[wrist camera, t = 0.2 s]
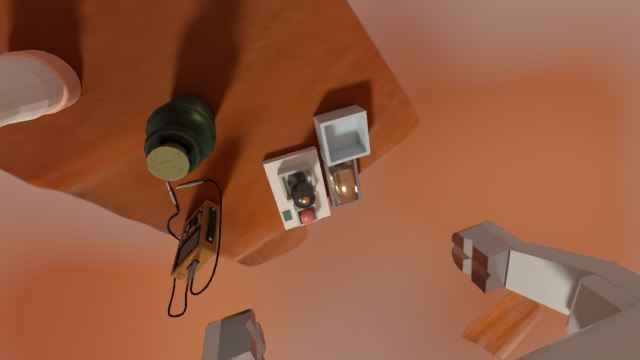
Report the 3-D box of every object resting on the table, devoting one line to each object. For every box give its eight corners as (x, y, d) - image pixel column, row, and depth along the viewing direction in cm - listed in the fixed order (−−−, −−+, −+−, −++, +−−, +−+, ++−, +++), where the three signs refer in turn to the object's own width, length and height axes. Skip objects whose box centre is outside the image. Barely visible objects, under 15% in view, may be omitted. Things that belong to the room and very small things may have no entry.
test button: (298, 209, 53) (300, 215, 51) (311, 205, 53) (313, 210, 52) (301, 220, 54) (303, 225, 53) (314, 216, 55) (316, 221, 53)
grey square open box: (312, 116, 47) (319, 124, 43) (355, 104, 48) (366, 110, 45) (321, 156, 52) (328, 166, 48) (360, 144, 53) (370, 153, 49)
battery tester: (262, 161, 49) (264, 169, 46) (314, 146, 50) (319, 153, 47) (284, 225, 57) (287, 236, 54) (328, 210, 59) (333, 220, 56)
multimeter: (183, 161, 45) (152, 240, 28) (232, 191, 50) (231, 273, 33) (132, 219, 47) (77, 323, 31) (185, 242, 53) (162, 342, 36)
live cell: (330, 167, 53) (336, 176, 49) (348, 162, 53) (355, 170, 50) (336, 197, 57) (342, 208, 53) (352, 192, 57) (359, 202, 54)
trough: (321, 160, 52) (324, 164, 50) (352, 151, 53) (355, 154, 51) (330, 204, 58) (333, 209, 56) (358, 195, 59) (361, 200, 57)
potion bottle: (177, 145, 43) (146, 207, 28) (152, 95, 39) (101, 137, 24) (227, 132, 45) (223, 186, 30) (208, 83, 40) (193, 115, 25)
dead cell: (284, 174, 50) (291, 195, 43) (303, 168, 50) (314, 188, 44) (289, 190, 52) (297, 213, 45) (308, 184, 52) (318, 206, 46)
